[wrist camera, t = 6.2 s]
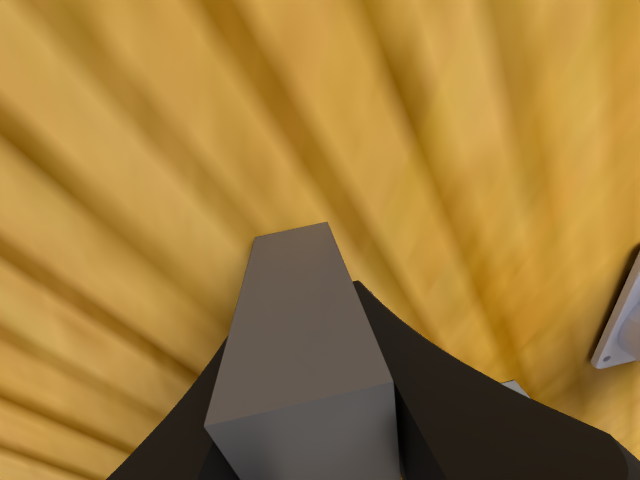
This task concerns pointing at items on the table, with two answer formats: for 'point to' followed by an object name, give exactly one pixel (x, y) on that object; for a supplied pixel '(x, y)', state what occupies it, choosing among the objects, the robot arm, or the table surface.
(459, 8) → the table surface
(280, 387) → the scraper
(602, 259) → the table surface
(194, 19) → the table surface
